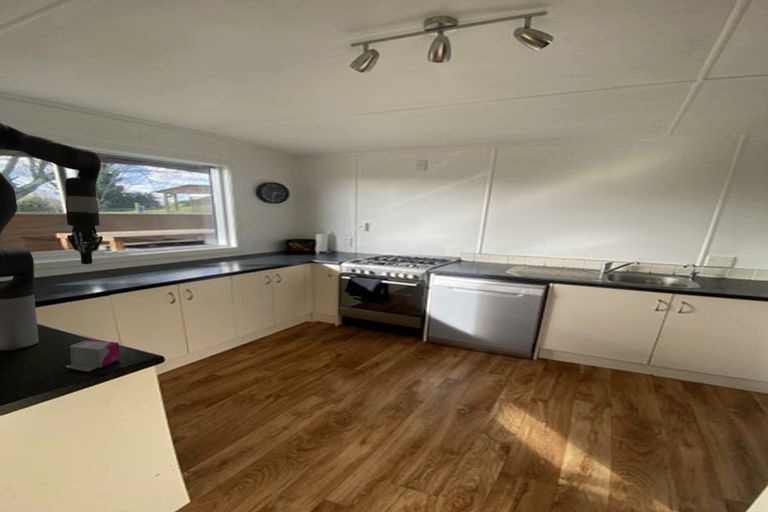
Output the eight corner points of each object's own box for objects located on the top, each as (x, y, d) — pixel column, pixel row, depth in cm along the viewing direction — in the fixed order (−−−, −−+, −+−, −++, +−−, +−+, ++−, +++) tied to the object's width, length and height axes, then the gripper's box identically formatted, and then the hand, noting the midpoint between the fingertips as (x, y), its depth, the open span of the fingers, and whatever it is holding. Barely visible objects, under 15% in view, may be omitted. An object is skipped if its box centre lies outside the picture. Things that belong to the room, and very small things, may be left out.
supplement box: (69, 364, 92) (100, 368, 90) (67, 345, 91) (98, 348, 89) (91, 356, 98) (120, 359, 95) (89, 338, 97) (119, 341, 95)
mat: (66, 367, 91) (65, 366, 90) (97, 356, 98) (97, 355, 98) (87, 371, 88) (87, 370, 88) (118, 359, 96) (118, 359, 96)
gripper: (53, 210, 97) (58, 264, 99) (83, 210, 94) (87, 266, 96) (82, 211, 104) (86, 261, 106) (110, 211, 101) (114, 263, 103)
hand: (87, 263), depth 101 cm, fingers closed
